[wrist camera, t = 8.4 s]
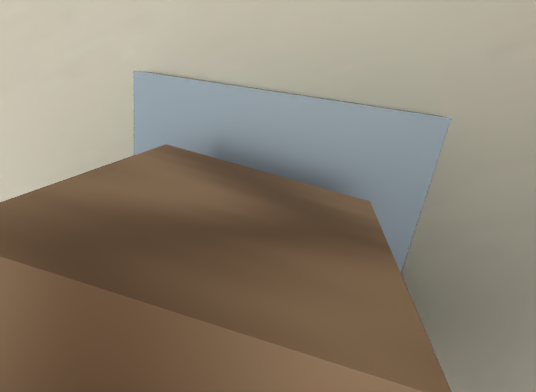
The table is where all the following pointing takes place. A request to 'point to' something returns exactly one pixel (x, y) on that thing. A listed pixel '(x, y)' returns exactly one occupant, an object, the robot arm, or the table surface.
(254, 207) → the long brick
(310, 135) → the base board
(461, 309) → the table surface
